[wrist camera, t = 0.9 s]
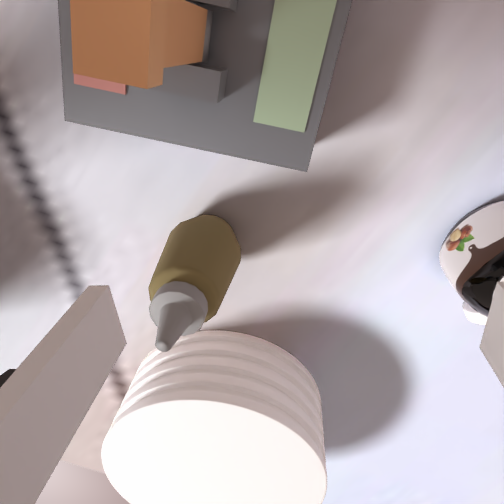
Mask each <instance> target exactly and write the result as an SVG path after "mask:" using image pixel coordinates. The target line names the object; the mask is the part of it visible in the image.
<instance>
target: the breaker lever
mask: <svg viewBox="0 0 504 504" xmlns="http://www.w3.org/2000/svg"><path fill="white" fill-rule="evenodd" d="M70 15H71V38H72V61H73V73H74V74H78V75H83V76H88V77H92V78H97V79H102V80H107V81H111V82H116V83H121V84H125V85H130V86H135V87H139V88H144V89H149V88H153V87H156V86H160V85H162V84H163V68H167V67H173V66H179V65H185V64H191V63H197V62H207V59H208V51H209V42H210V33H211V24H212V15H213V11H210V10H207V9H204V8H202V7H200V6H197V5H195V4H193V3H190V2H188V1H186V0H70Z"/></svg>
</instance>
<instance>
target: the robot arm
mask: <svg viewBox="0 0 504 504" xmlns="http://www.w3.org/2000/svg"><path fill="white" fill-rule="evenodd" d="M126 344H127V343H126V340H125V336H124V333H123V330H122V327H121V323H120V320H119V317H118V314H117V310H116V307H115V304H114V301H113V298H112V294H111V291H110V288H109V285H104V286H88V287H87V289H86V290H85V291H84V292H83V293H82V294H81V296H80V297H79V298H78V299H77V300H76V301H75V302H74V304H73V305H72V306H71V307H70V308H69V309H68V311H67V312H66V313H65V314H64V315H63V316H62V317H61V319H60V320H59V321H58V322H57V323H56V324H55V325H54V327H53V328H52V329H51V330H50V331H49V332H48V334H47V335H46V336H45V337H44V338H43V339H42V340H41V342H40V343H39V344H38V345H37V346H36V347H35V348H34V350H33V351H32V352H31V353H30V354H29V355H28V357H27V358H26V359H25V360H24V361H23V362H22V363H21V365H20V366H19V367H18V368H17V369H9V370H7V371H6V372H5V373H3V374H2V375H0V504H35V502H36V501H37V499H38V497H39V495H40V493H41V492H42V490H43V488H44V486H45V485H46V483H47V481H48V480H49V478H50V476H51V474H52V473H53V471H54V469H55V467H56V466H57V464H58V462H59V460H60V459H61V457H62V455H63V454H64V452H65V450H66V448H67V447H68V445H69V443H70V441H71V440H72V438H73V436H74V434H75V433H76V431H77V429H78V427H79V426H80V424H81V422H82V420H83V419H84V417H85V415H86V413H87V412H88V410H89V408H90V406H91V405H92V403H93V401H94V400H95V398H96V396H97V394H98V393H99V391H100V389H101V387H102V386H103V384H104V382H105V380H106V379H107V377H108V375H109V373H110V372H111V370H112V368H113V366H114V365H115V363H116V361H117V359H118V358H119V356H120V354H121V352H122V351H123V349H124V347H125V346H126ZM480 349H481V351H482V352H483V354H484V356H485V357H486V359H487V361H488V362H489V364H490V366H491V367H492V369H493V371H494V372H495V374H496V376H497V377H498V379H499V381H500V382H501V384H502V386H503V387H504V282H497V284H496V288H495V292H494V295H493V299H492V303H491V307H490V310H489V314H488V318H487V322H486V325H485V329H484V333H483V337H482V340H481V344H480Z"/></svg>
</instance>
